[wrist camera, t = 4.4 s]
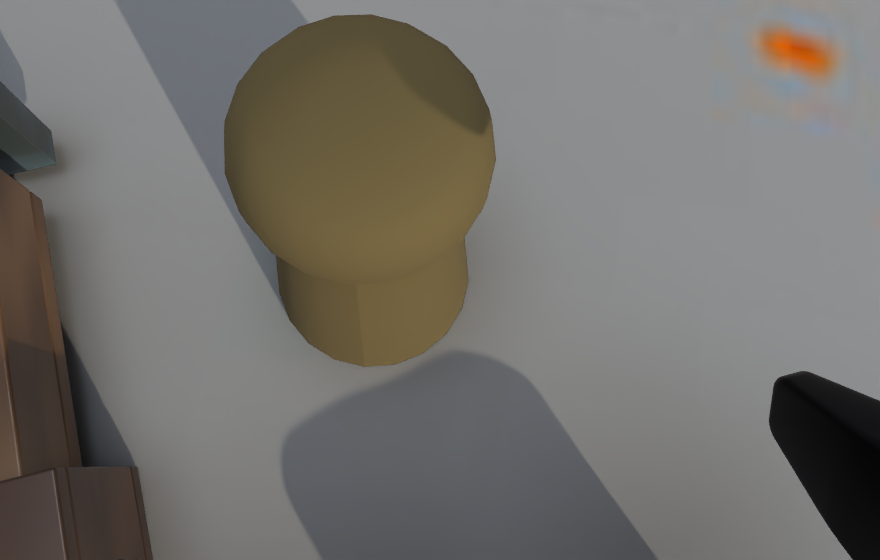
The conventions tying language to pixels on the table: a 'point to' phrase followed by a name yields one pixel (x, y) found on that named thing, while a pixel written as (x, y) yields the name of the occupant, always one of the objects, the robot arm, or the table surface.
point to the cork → (362, 181)
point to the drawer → (29, 311)
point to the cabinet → (74, 515)
